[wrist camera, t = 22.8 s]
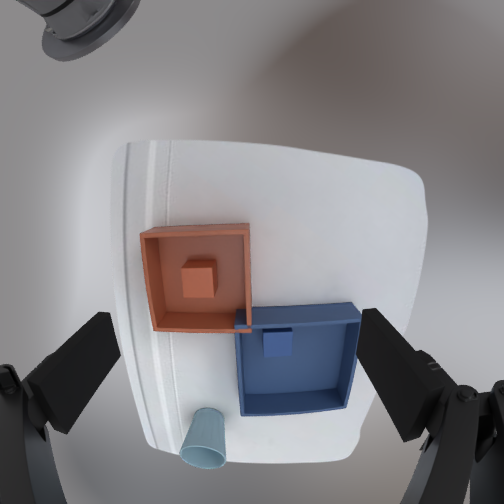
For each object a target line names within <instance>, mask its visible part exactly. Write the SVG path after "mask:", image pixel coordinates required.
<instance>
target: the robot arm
mask: <svg viewBox="0 0 504 504" xmlns="http://www.w3.org/2000/svg"><path fill="white" fill-rule="evenodd" d="M16 1H18V2H19V3H21V4H23V5H25V6H26V7H28V8H29V9H31V10H33V11H34V12H36V13H37V14H39V15H41V16H42V17H43V18H44V19H45V21H46V23H47V25H48V27H49V28H47V29H45V30H46V31H47V32H50V31H51V33H52V35H53V36H54V37H56V38H57V39H59V40H61V41H69V40H73V39H76V38H78V37H80V36H82V35H84V34H86V33H87V32H89V31H90V30H92V29H93V28H94V27H96V26H97V25H98V24H99V23H100V22H101V21H102V20H103V19H104V18H105V17H106V16H107V15H108V14H109V13H110V12H111V10H112V9H113V8H114V6H115V4H116V3H117V0H16ZM120 356H121V354H120V350H119V347H118V343H117V339H116V336H115V332H114V328H113V323H112V319H111V315H110V313H108V312H98V313H97V314H96V315H94V317H92V318H91V319H90V320H89V321H88V322H87V323H86V324H84V325H83V326H82V327H81V328H80V329H79V330H78V331H77V332H76V333H75V334H74V335H72V336H71V337H70V338H69V339H68V340H67V341H66V342H65V343H64V344H63V345H62V346H61V347H60V348H59V349H58V350H56V351H55V352H54V353H52V354H50V355H49V356H47V357H46V358H45V359H44V360H43V361H42V363H40V364H39V365H38V366H37V368H35V369H34V370H33V371H31V373H29V374H28V375H27V377H25V379H23V380H22V381H20V379H19V377H18V375H17V373H16V371H15V368H14V367H13V366H12V365H9V364H3V365H0V504H67V502H66V499H65V496H64V493H63V490H62V487H61V483H60V480H59V476H58V473H57V469H56V465H55V461H54V457H53V453H52V448H51V444H50V438H49V432H48V429H47V427H46V425H45V424H46V422H47V421H49V422H50V424H51V425H52V427H53V428H54V430H56V431H59V432H61V433H64V434H68V432H69V431H70V429H71V428H72V426H73V425H74V423H75V422H76V420H77V418H78V417H79V415H80V414H81V412H82V411H83V409H84V408H85V406H86V405H87V403H88V402H89V400H90V399H91V398H92V396H93V395H94V393H95V392H96V390H97V389H98V387H99V386H100V384H101V383H102V381H103V380H104V379H105V377H106V376H107V374H108V373H109V371H110V370H111V369H112V367H113V366H114V364H115V363H116V362H117V360H118V359H119V358H120ZM356 356H357V358H358V359H359V361H360V363H361V365H362V366H363V368H364V370H365V372H366V373H367V375H368V377H369V379H370V381H371V382H372V384H373V386H374V388H375V390H376V391H377V393H378V395H379V397H380V398H381V400H382V402H383V404H384V406H385V408H386V410H387V412H388V413H389V415H390V417H391V419H392V421H393V423H394V425H395V427H396V428H397V430H398V432H399V434H400V436H401V438H402V440H403V442H407V441H410V440H413V439H416V438H419V437H420V436H421V434H422V433H423V431H424V429H425V427H426V429H427V430H428V432H429V435H428V437H427V438H426V440H425V442H424V443H423V445H422V447H421V448H420V450H422V449H423V450H422V453H421V456H420V459H419V461H418V464H417V466H416V469H415V471H414V474H413V476H412V479H411V481H410V483H409V486H408V488H407V490H406V492H405V494H404V497H403V499H402V501H401V503H400V504H463V502H464V499H465V495H466V491H467V487H468V483H469V479H470V504H504V380H500V381H497V382H496V383H495V384H494V386H493V388H492V391H491V392H484V393H478V392H477V391H476V390H475V389H474V388H473V387H471V386H467V385H459V386H458V385H457V384H456V383H455V382H454V381H453V380H452V379H451V377H450V376H449V375H448V374H447V373H446V372H445V371H444V370H443V368H441V366H440V365H439V364H438V363H436V361H435V360H434V359H433V358H432V357H431V356H430V355H429V354H427V353H426V352H424V351H422V350H419V351H415V350H414V349H413V348H412V347H411V345H410V344H409V343H408V342H407V341H406V340H405V339H404V338H403V337H402V335H401V334H400V333H399V332H398V331H397V330H396V329H395V328H394V327H393V326H392V325H391V324H390V323H389V321H388V320H387V319H386V318H385V317H384V316H383V315H382V314H381V313H380V312H379V311H378V310H377V309H376V308H372V309H363V310H362V318H361V325H360V331H359V337H358V343H357V349H356ZM496 432H497V434H496Z"/></svg>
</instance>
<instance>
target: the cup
mask: <svg viewBox="0 0 504 504" xmlns="http://www.w3.org/2000/svg"><path fill="white" fill-rule="evenodd" d="M180 457H181V458H182V459H183V460H184V461H185V462H186V463H188V464H190V465H192V466H195V467H198V468H204V469H214V468H219V467H221V466H223V465H224V464H225V463H226V450H225V428H224V417H223V415H222V414H221V413H220V412H219V411H217V410H215V409H211V408H203V409H200V410H198V411H197V412H196V413H195V416H194V418H193V421H192V423H191V425H190V428H189V430H188V433H187V435H186V438H185V440H184V443H183V445H182V447H181V450H180Z"/></svg>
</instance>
